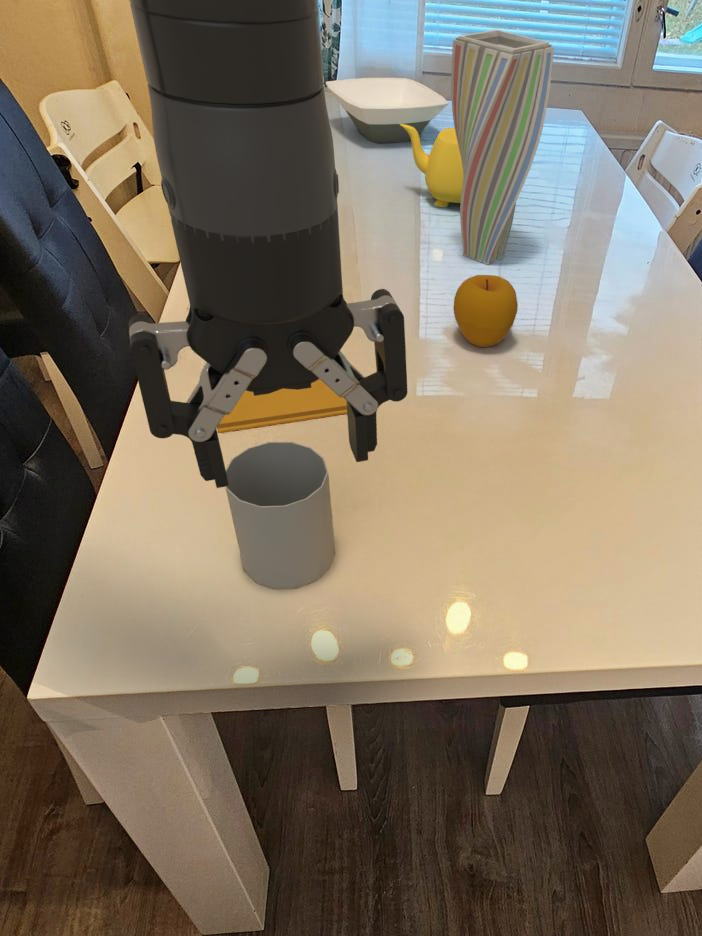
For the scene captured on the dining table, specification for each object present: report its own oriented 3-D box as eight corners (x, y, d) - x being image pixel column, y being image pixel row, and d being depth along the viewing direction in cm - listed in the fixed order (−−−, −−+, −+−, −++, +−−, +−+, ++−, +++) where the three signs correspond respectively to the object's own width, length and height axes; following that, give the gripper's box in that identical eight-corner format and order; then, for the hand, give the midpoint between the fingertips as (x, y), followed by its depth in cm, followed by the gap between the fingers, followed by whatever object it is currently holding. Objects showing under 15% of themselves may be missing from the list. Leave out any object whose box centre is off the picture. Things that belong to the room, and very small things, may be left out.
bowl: (409, 116, 167) (409, 75, 162) (454, 147, 154) (457, 104, 148) (320, 122, 158) (317, 79, 153) (360, 155, 145) (359, 110, 139)
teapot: (503, 219, 127) (511, 143, 118) (393, 206, 127) (393, 129, 118) (506, 192, 137) (514, 120, 128) (404, 180, 137) (405, 107, 128)
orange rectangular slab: (218, 433, 77) (217, 430, 77) (206, 374, 85) (205, 371, 85) (361, 411, 82) (361, 409, 82) (337, 357, 90) (337, 355, 90)
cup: (223, 571, 63) (202, 489, 56) (271, 513, 69) (258, 432, 62) (307, 600, 62) (297, 519, 55) (350, 538, 67) (345, 457, 61)
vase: (426, 254, 114) (433, 34, 93) (475, 231, 122) (492, 24, 102) (494, 282, 109) (518, 56, 88) (540, 256, 117) (572, 44, 97)
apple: (484, 318, 101) (490, 258, 94) (526, 344, 96) (535, 283, 90) (439, 335, 96) (442, 273, 90) (480, 363, 92) (487, 300, 86)
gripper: (382, 160, 37) (386, 413, 48) (82, 174, 32) (164, 449, 44) (427, 217, 32) (420, 483, 43) (81, 241, 28) (174, 531, 39)
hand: (291, 465), depth 44 cm, fingers open, 8 cm apart
